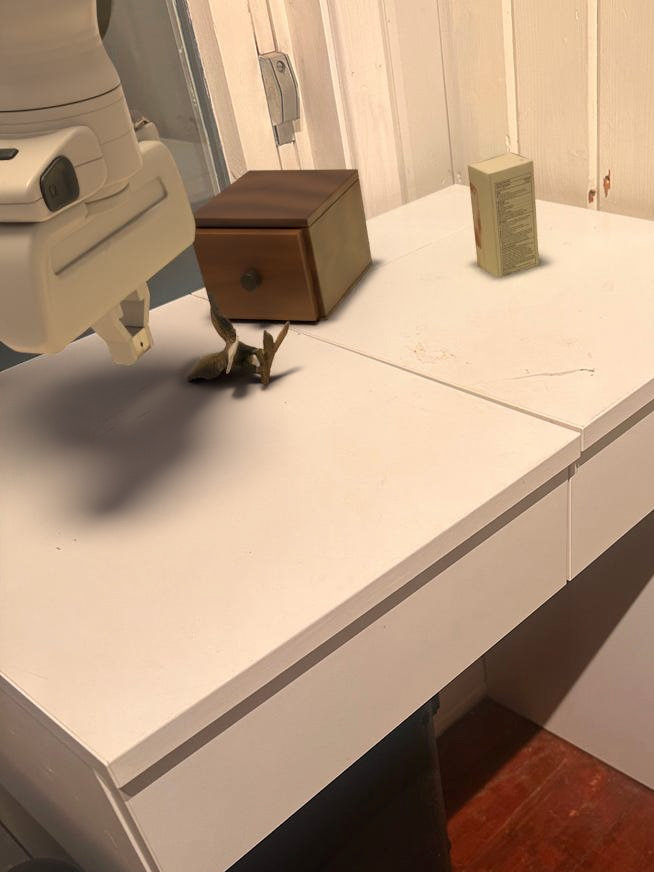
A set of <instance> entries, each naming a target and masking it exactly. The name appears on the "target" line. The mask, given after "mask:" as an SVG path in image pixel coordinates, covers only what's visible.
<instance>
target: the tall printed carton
mask: <svg viewBox="0 0 654 872" xmlns="http://www.w3.org/2000/svg"><path fill="white" fill-rule="evenodd" d="M534 167H535V166H534V160H533V159H531V158H529V157H526V156H523V155H520V154H518V153H515V152H511V151H508V152H504V153H501V154H498V155H495V156H491V157H486V158H483V159H481V160H478V161H474V162H471V163H468V164H467V173H468V182H469V191H470V192H469V193H470V200H471V201H470V202H471V213H472V214H471V215H472V223H473V232H474V242H475V250H476V251H475V252H476V253H475V254H476V262H477V263H476V264H477V267H479V268H481V269H482V270H484V271H485V272H488V274H491V275H492V276H494V277H496V278H501V277H505V276H508V275H511V274H515V273H518V272H521V271H524V270H527V269H530V268H533V267H536V266H539V265H540V258H539V256H540V255H539V239H538V222H537V221H538V220H537V204H536V202H537V201H536V188H535V187H536V186H535V185H536V184H535V172H534V171H535V170H534Z"/></svg>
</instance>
